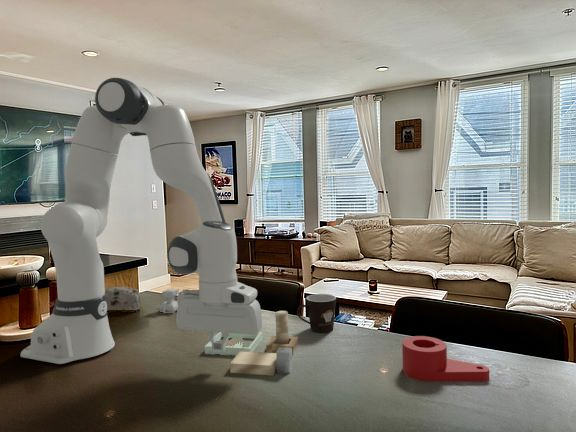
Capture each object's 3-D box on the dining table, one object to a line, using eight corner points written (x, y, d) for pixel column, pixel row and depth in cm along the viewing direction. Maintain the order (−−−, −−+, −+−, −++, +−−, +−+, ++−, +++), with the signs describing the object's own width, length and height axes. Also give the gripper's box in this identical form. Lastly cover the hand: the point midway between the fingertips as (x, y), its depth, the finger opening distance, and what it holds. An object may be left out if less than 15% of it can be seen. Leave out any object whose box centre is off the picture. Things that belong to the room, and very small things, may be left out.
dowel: (275, 352, 108) (274, 314, 107) (278, 347, 111) (276, 310, 110) (287, 353, 107) (286, 314, 106) (290, 348, 110) (288, 311, 109)
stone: (98, 312, 144) (103, 284, 144) (109, 308, 150) (114, 281, 149) (131, 322, 141) (137, 293, 141) (141, 318, 147) (146, 290, 146)
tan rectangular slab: (230, 376, 96) (230, 363, 96) (240, 363, 103) (239, 351, 102) (273, 378, 94) (272, 365, 94) (279, 365, 101) (279, 353, 100)
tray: (205, 355, 107) (204, 346, 106) (221, 339, 118) (221, 330, 118) (250, 358, 104) (250, 348, 104) (262, 340, 116) (262, 331, 116)
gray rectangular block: (277, 373, 95) (276, 352, 95) (279, 367, 98) (279, 347, 98) (289, 374, 95) (289, 352, 94) (292, 368, 98) (291, 347, 97)
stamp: (169, 309, 149) (168, 286, 149) (186, 310, 147) (185, 287, 147) (155, 317, 141) (153, 292, 140) (172, 318, 139) (171, 293, 138)
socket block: (266, 355, 106) (266, 345, 106) (272, 344, 113) (272, 335, 113) (293, 356, 105) (293, 346, 105) (298, 345, 112) (298, 336, 111)
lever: (401, 379, 91) (401, 349, 91) (403, 361, 100) (403, 334, 99) (493, 389, 86) (493, 357, 85) (485, 369, 95) (486, 340, 94)
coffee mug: (334, 326, 127) (333, 293, 126) (338, 336, 118) (338, 301, 117) (296, 327, 126) (295, 294, 126) (297, 337, 118) (296, 302, 117)
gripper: (170, 292, 97) (171, 350, 97) (255, 297, 92) (256, 358, 93) (183, 286, 103) (184, 341, 104) (263, 290, 98) (264, 348, 99)
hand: (219, 349), depth 98 cm, fingers closed
